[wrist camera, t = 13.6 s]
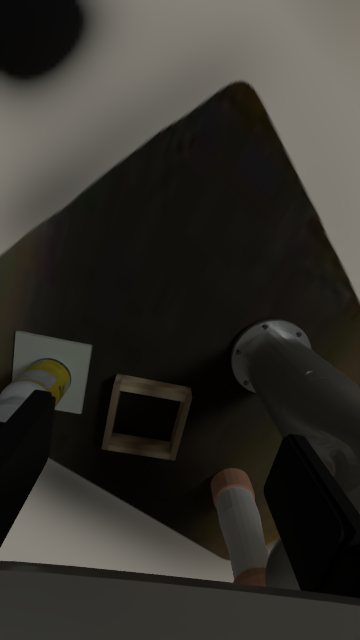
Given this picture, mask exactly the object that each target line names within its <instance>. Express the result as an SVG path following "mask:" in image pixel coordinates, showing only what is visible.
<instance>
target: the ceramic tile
mask: <svg viewBox="0 0 360 640" xmlns="http://www.w3.org/2000/svg"><path fill="white" fill-rule="evenodd" d="M91 351H92V345H89V344H84V343H78V342H73V341H68V340H63V339H58V338H53V337H48V336H43V335H37V334H32V333H27V332H22V331H17V332H16V335H15V348H14V362H13V375H12V382H13V381H14V380H15V379H16V378H17V377H18V376H20V375H21V374H22V373H23V372H24V371H25V370H26V369H27V368H29V367H30V366H31V365H32V364H33V363H34V362H36V361H37V360H39V359H42V358H55V359H58V360H60V361H62V362H63V363H64V364H65V365H66V366H67V367H68V368H69V370H70V372H71V377H72V380H71V384H70V387H69V388H68V390H67V391H66V393H65V394H64V396H63V397H62V399H61V400H60V401H59V403H58V404H57V406H56V407H55V410H60V411H66V412H72V413H78V414H81V413H82V409H83V402H84V396H85V389H86V383H87V377H88V370H89V364H90V357H91Z"/></svg>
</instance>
